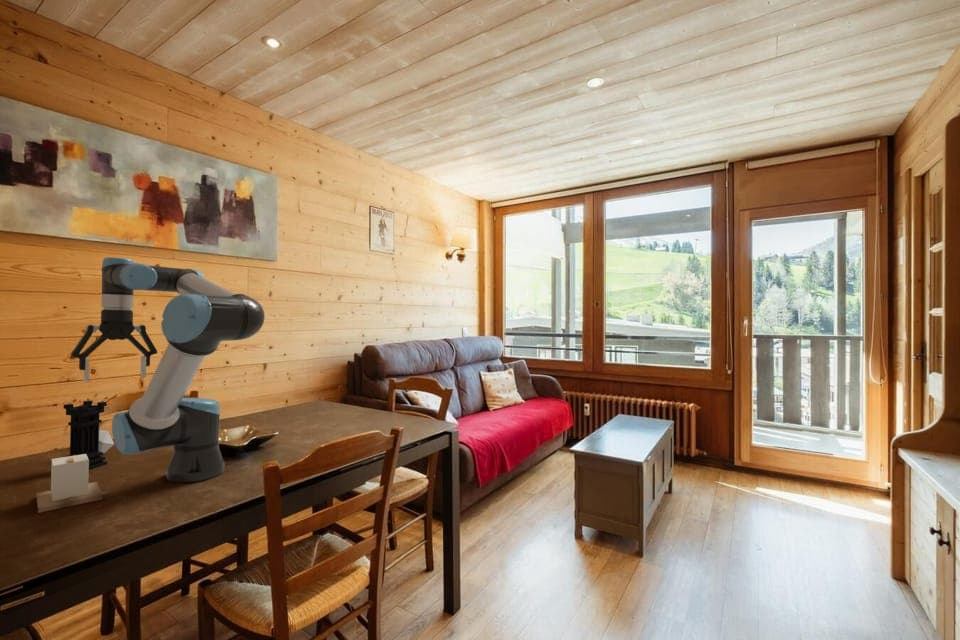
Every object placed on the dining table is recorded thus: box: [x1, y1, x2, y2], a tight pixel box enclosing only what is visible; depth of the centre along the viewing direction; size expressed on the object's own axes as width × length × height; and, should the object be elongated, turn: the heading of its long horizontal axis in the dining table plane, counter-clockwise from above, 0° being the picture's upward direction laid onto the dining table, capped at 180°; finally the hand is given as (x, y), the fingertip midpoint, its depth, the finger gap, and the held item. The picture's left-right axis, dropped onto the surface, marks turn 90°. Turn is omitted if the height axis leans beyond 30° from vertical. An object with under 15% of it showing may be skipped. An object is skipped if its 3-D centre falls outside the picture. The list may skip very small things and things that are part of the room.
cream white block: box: [50, 454, 90, 501], centre depth 117 cm, size 7×7×10 cm
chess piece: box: [63, 399, 108, 471], centre depth 139 cm, size 8×8×20 cm
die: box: [99, 429, 115, 455], centre depth 150 cm, size 8×9×10 cm
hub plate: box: [35, 481, 103, 514], centre depth 116 cm, size 12×12×1 cm
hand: (115, 379), depth 135 cm, fingers open, 13 cm apart
